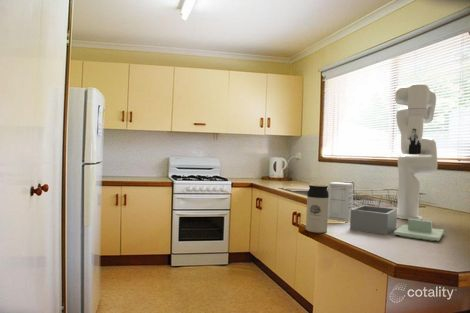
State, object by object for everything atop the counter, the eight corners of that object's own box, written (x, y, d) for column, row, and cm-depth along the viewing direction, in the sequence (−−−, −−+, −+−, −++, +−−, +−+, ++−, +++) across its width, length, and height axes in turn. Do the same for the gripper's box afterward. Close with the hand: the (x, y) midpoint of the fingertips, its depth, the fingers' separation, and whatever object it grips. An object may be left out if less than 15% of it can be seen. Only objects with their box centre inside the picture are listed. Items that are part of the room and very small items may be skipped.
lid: (402, 229, 157) (403, 214, 157) (443, 235, 148) (444, 219, 148) (393, 237, 141) (394, 220, 141) (438, 244, 133) (439, 226, 132)
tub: (362, 223, 165) (363, 205, 165) (396, 228, 158) (397, 209, 157) (349, 229, 150) (350, 209, 150) (386, 234, 143) (387, 213, 142)
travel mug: (311, 227, 150) (313, 183, 150) (330, 231, 145) (332, 184, 145) (302, 230, 144) (304, 183, 144) (321, 234, 139) (323, 185, 139)
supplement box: (352, 219, 175) (354, 183, 175) (347, 222, 168) (349, 184, 167) (332, 216, 180) (334, 181, 180) (326, 219, 172) (328, 182, 172)
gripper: (410, 114, 168) (408, 153, 169) (403, 112, 153) (401, 154, 154) (429, 114, 164) (427, 154, 165) (423, 111, 149) (421, 154, 150)
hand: (414, 154), depth 159 cm, fingers open, 9 cm apart
